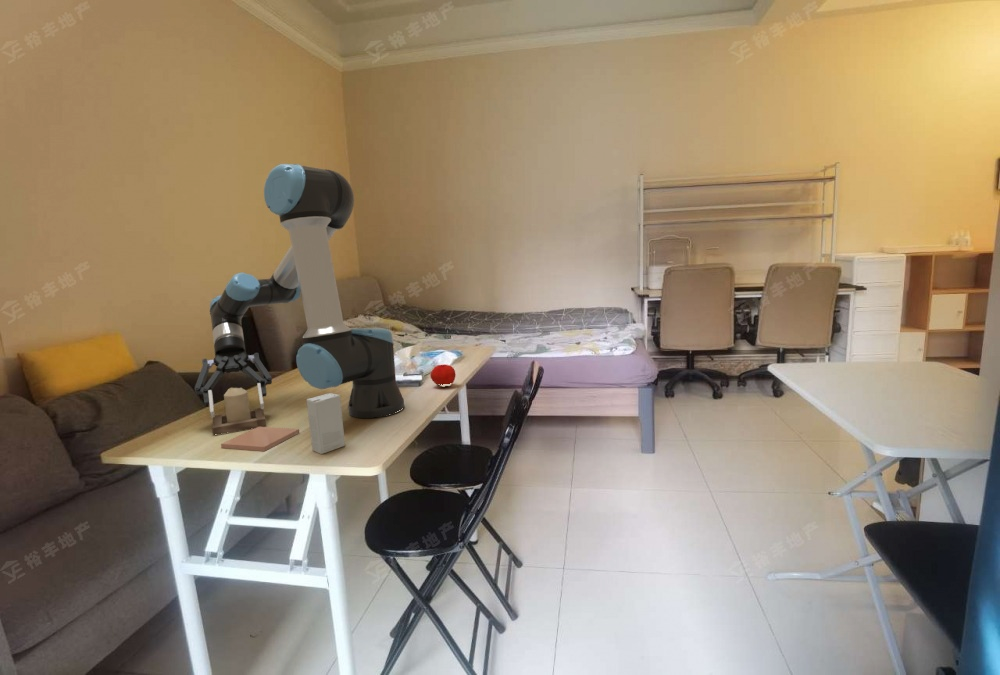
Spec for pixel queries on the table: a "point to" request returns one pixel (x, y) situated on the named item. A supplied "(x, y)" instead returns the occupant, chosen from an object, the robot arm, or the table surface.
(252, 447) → the terracotta tile
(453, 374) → the apple
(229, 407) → the candle
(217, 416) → the walnut holder
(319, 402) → the skincare box
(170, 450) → the table surface
